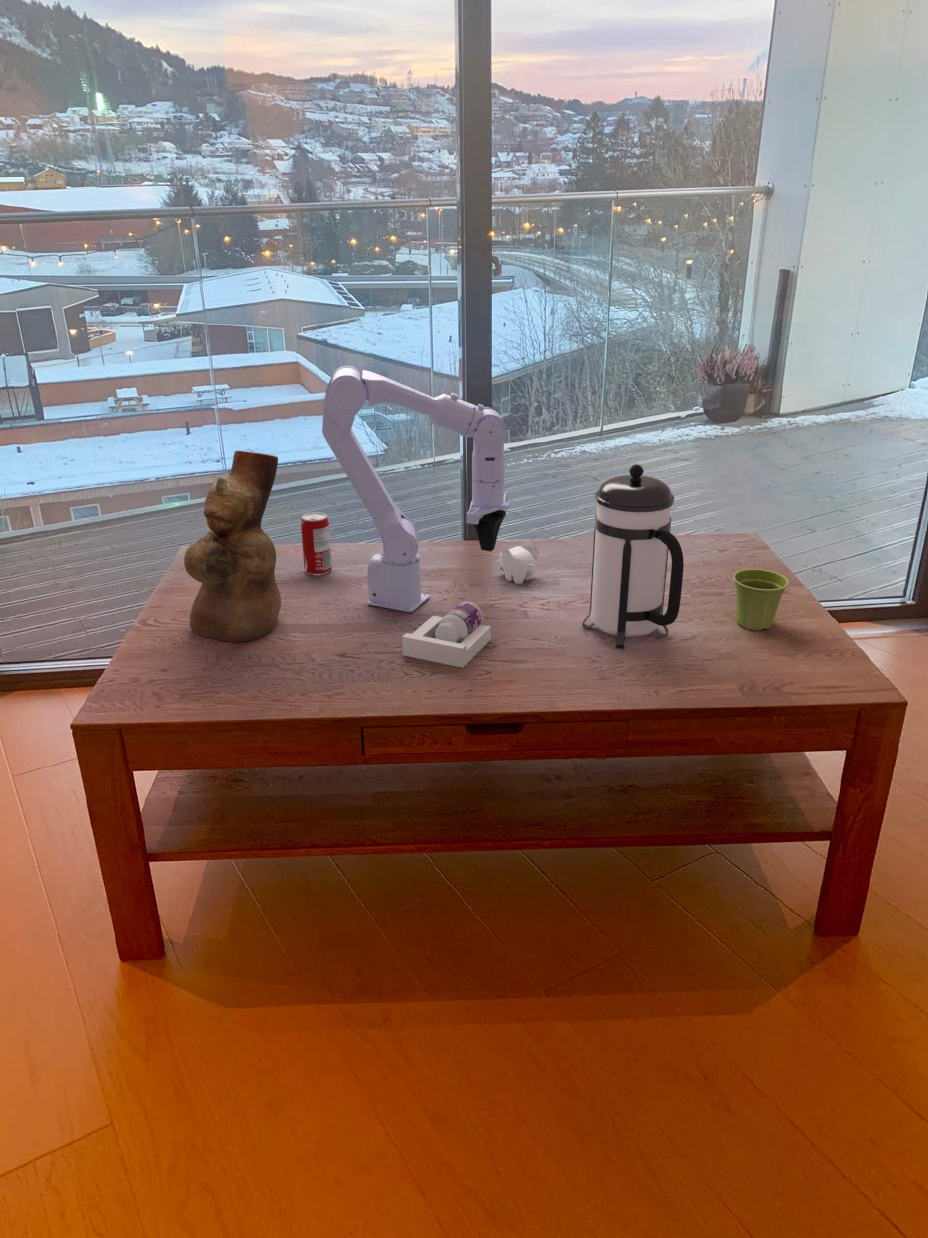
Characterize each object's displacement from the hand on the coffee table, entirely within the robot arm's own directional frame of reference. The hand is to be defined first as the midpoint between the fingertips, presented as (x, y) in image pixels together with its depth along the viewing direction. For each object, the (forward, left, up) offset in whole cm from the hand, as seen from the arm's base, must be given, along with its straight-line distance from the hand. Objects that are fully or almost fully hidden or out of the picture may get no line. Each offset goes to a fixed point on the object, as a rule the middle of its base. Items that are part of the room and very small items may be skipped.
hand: (487, 549), depth 175 cm
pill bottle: (+3, -14, -7) cm, 16 cm away
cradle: (+2, -21, -10) cm, 23 cm away
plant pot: (+48, +9, -10) cm, 50 cm away
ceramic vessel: (-36, -26, -10) cm, 46 cm away
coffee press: (+29, -4, -10) cm, 31 cm away
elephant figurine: (+1, +12, -10) cm, 16 cm away
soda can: (-37, -1, -10) cm, 38 cm away
